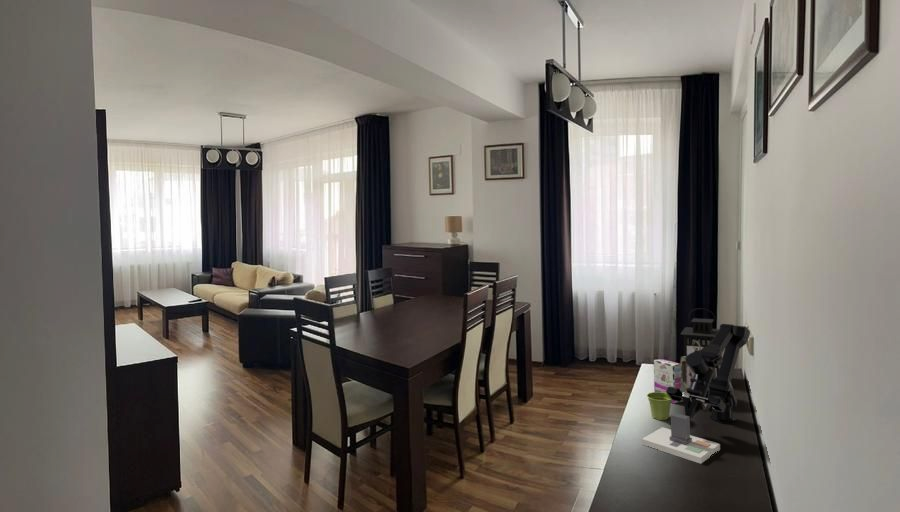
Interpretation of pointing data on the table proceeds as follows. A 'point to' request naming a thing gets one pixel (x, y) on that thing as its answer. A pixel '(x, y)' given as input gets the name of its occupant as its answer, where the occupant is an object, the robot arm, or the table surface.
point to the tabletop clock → (689, 370)
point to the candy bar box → (667, 376)
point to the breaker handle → (680, 428)
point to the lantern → (699, 335)
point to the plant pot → (659, 405)
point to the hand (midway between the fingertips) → (687, 420)
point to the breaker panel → (681, 446)
